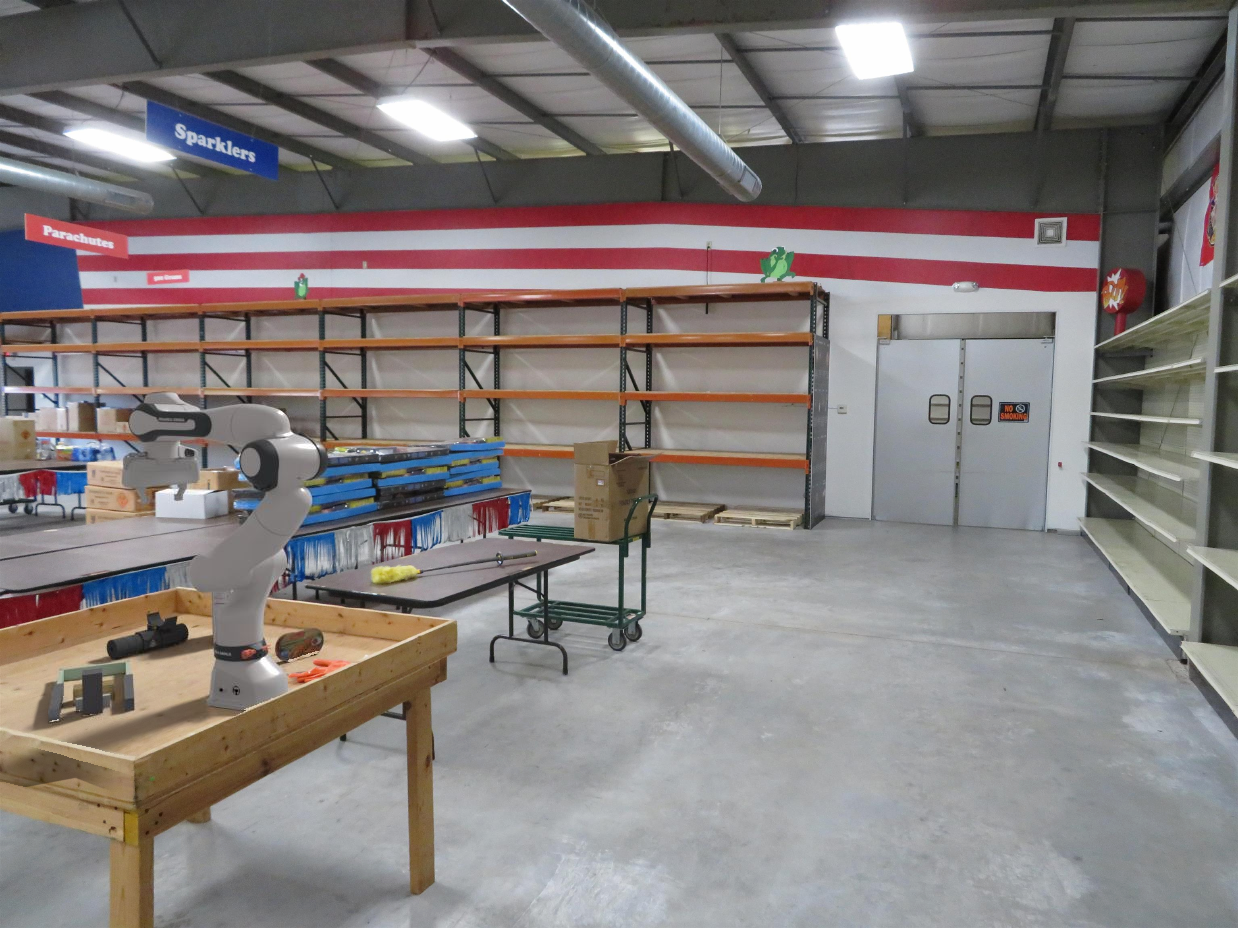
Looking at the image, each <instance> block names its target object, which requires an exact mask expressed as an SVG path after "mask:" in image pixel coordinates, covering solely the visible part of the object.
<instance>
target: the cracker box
mask: <svg viewBox="0 0 1238 928" xmlns="http://www.w3.org/2000/svg"><path fill="white" fill-rule="evenodd" d="M232 591H233V590H230V591H226V592H221V593H211V616H212V618H211V620H212V621H211V623H212V625H211V626H212V646H213V647H214V643H215V642H216V614H217V612H218V610H219V608H220V607H221V606H222V605H224V604H225V603H226V602H227V600H228V599H229V598H230V596H231V594H232Z"/></svg>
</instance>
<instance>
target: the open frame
mask: <svg viewBox="0 0 1238 928" xmlns="http://www.w3.org/2000/svg"><path fill="white" fill-rule="evenodd" d="M98 668H102V676H103V677H104V676H109V675H110V676H111V675H116V674H119V675H120V674H124V673H125V675H128V674H132V673H131V660H124V661H123V660H122V661H116V662H115V661H114V662H108V663H98V664H90V665H82V666H76V667H67V668H59V671H58V673H57V674H58V676H57V680H56V684H60V683H64V684H65V681H64V680H66V681H71V680H72V681H73V680H79V678H81V679H82V671H83V670H91V669H98Z"/></svg>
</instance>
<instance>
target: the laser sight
mask: <svg viewBox="0 0 1238 928" xmlns="http://www.w3.org/2000/svg"><path fill="white" fill-rule="evenodd" d="M178 617H179V616H178V615H175V616H171V617H166V618H164V619H162V618H161V615H160V611H155V612H151V613H146V618H147V619H146V620H147V624H146V629H144V630H140V631H135V632H134V634H131V635H127V636H122V637H118V638H113V639H110V640H108V641H107V643H106V653H107V656H108V657H109V658H110V659H112V660H115V659H119V658H122V657H126V656H130V655H134V654H138V653H139V654H144V653H149V652H153V651H156V650H160V649H164V648H168V647H171V646H177V645H179V644H180V643H184V642H186V641H188V639H189V633H190V632H189V629H188V627H187V625H186V624H185V623H183V622H182V623H181V622H180V623H178Z"/></svg>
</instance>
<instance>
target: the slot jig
mask: <svg viewBox="0 0 1238 928" xmlns="http://www.w3.org/2000/svg"><path fill="white" fill-rule="evenodd" d="M64 684H65V682H64V683H60V684H57V683H54V685H53V688H52V692H51V697H50V702H49V706H48V722H49V721H52V720H57V719H59V718H60V719H61V714H60V713H62V709H61V707H63V703H64V702H63V701H64V697H63V696H65V685H64ZM134 687H135V686H134V674H133V673H131V674H128V675H126V674H123V689H124V690H123V693H124V696H123V698H124V699H123V701H124V712H130V711H135V688H134ZM62 702H63V703H62Z"/></svg>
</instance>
